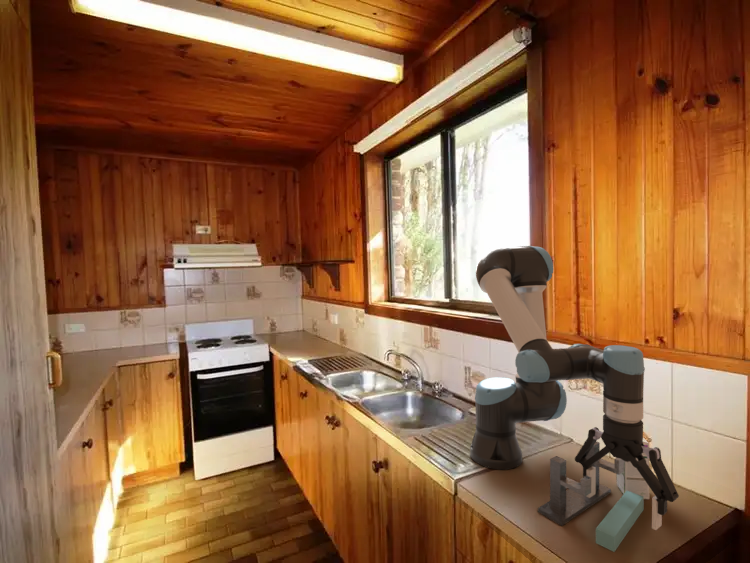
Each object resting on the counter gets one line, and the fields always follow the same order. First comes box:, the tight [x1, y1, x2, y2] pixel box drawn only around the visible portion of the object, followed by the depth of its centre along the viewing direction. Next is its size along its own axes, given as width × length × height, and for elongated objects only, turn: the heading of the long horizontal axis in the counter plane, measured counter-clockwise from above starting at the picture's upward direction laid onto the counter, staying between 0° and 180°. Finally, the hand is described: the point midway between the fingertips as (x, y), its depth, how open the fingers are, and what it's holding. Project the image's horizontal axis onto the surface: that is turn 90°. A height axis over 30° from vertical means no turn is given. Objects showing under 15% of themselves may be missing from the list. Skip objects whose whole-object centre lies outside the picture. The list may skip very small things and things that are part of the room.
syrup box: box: [615, 437, 650, 500], centre depth 99 cm, size 6×6×14 cm
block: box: [595, 491, 645, 553], centre depth 88 cm, size 4×20×4 cm, turn 131°
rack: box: [537, 441, 624, 527], centre depth 94 cm, size 10×22×13 cm, turn 123°
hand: (621, 510), depth 87 cm, fingers open, 13 cm apart
